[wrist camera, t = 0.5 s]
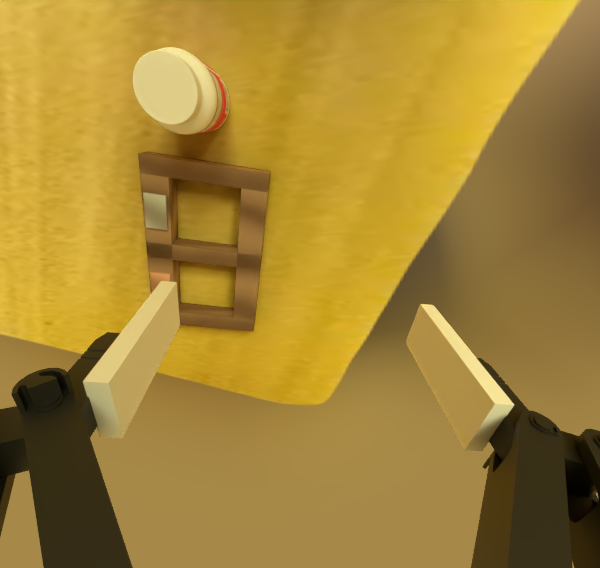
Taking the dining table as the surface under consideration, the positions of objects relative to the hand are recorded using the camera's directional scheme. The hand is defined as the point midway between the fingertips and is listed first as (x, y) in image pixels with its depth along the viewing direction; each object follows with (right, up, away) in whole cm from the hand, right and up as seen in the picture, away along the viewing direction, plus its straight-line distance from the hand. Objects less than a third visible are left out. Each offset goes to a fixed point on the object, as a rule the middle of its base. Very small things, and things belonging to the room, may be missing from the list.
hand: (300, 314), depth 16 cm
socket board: (-12, +6, +23) cm, 27 cm away
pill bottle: (-11, +21, +16) cm, 28 cm away
